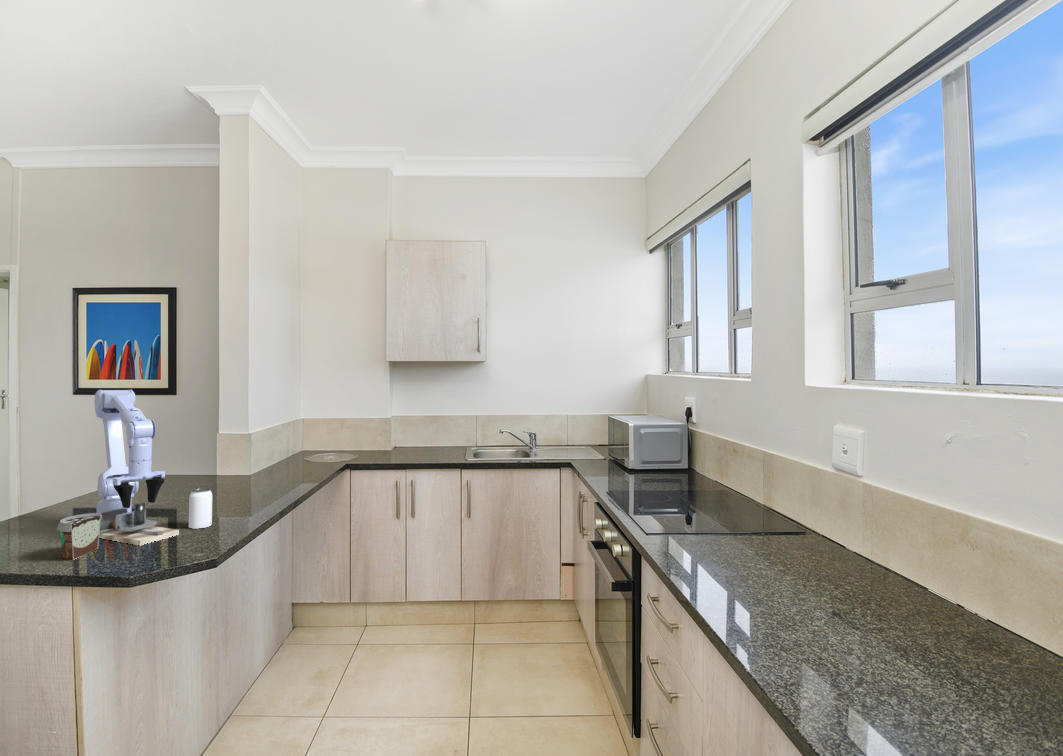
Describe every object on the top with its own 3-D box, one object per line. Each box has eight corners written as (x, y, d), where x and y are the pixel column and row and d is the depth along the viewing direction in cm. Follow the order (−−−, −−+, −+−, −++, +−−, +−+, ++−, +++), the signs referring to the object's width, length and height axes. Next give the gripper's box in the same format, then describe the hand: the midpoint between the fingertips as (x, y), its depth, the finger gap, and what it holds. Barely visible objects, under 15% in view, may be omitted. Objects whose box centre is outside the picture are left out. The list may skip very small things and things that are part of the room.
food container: (78, 547, 155) (79, 512, 155) (101, 547, 156) (102, 512, 156) (43, 562, 143) (44, 524, 143) (68, 562, 144) (69, 524, 144)
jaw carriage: (115, 529, 164) (116, 505, 164) (142, 522, 172) (142, 499, 172) (130, 531, 162) (131, 507, 162) (156, 524, 170) (157, 501, 170)
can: (200, 530, 175) (201, 492, 175) (183, 528, 176) (184, 491, 176) (216, 525, 181) (217, 488, 181) (199, 523, 182) (200, 487, 182)
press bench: (87, 536, 165) (88, 515, 165) (128, 527, 177) (128, 506, 177) (140, 545, 158) (140, 523, 158) (178, 534, 170) (179, 513, 170)
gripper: (125, 464, 159) (123, 511, 159) (172, 457, 172) (171, 501, 172) (108, 462, 161) (106, 509, 161) (156, 456, 175) (155, 499, 175)
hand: (139, 504), depth 167 cm, fingers open, 7 cm apart
